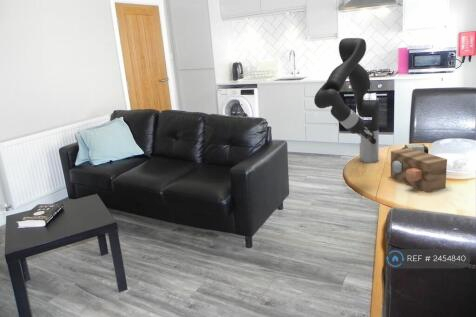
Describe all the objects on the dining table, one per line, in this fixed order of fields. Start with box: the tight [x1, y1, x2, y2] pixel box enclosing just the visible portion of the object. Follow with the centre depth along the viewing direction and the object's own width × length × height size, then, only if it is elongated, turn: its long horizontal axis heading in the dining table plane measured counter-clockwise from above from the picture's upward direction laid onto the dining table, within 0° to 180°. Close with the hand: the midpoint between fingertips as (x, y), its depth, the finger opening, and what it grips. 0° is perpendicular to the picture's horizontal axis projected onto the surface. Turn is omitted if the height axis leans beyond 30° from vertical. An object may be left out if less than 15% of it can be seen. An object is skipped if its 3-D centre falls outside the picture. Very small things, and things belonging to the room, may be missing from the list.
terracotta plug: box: [405, 168, 423, 182], centre depth 176 cm, size 6×11×6 cm, turn 110°
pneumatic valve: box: [401, 143, 429, 154], centre depth 204 cm, size 6×12×12 cm, turn 79°
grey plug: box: [392, 161, 403, 173], centre depth 188 cm, size 6×11×6 cm, turn 110°
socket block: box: [390, 147, 448, 193], centre depth 183 cm, size 23×10×13 cm, turn 20°
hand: (374, 142), depth 183 cm, fingers closed
